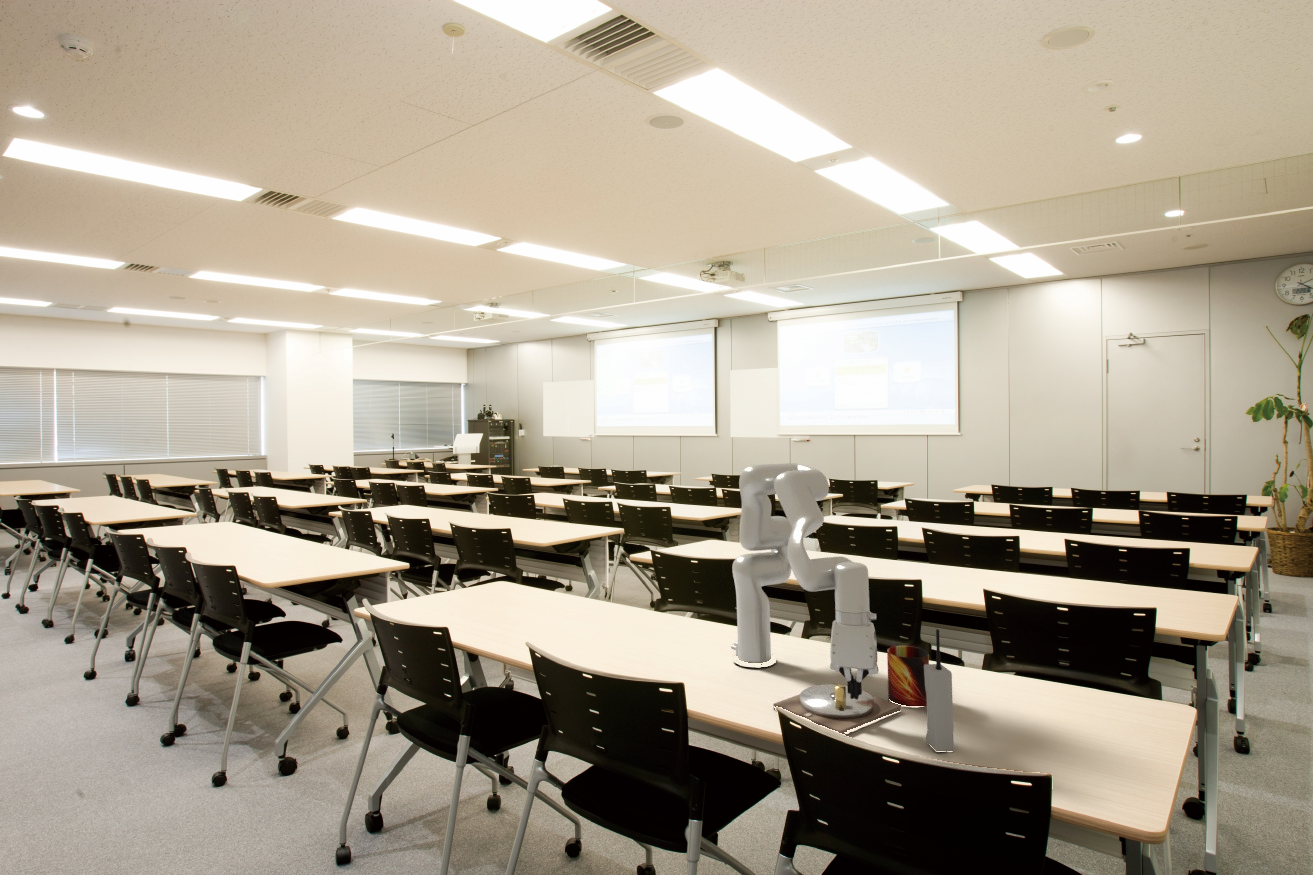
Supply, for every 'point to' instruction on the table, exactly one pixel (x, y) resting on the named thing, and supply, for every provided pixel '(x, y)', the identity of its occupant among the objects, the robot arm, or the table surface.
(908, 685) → the mug
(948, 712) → the vintage mobile phone
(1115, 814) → the table surface
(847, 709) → the dial
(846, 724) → the base board
